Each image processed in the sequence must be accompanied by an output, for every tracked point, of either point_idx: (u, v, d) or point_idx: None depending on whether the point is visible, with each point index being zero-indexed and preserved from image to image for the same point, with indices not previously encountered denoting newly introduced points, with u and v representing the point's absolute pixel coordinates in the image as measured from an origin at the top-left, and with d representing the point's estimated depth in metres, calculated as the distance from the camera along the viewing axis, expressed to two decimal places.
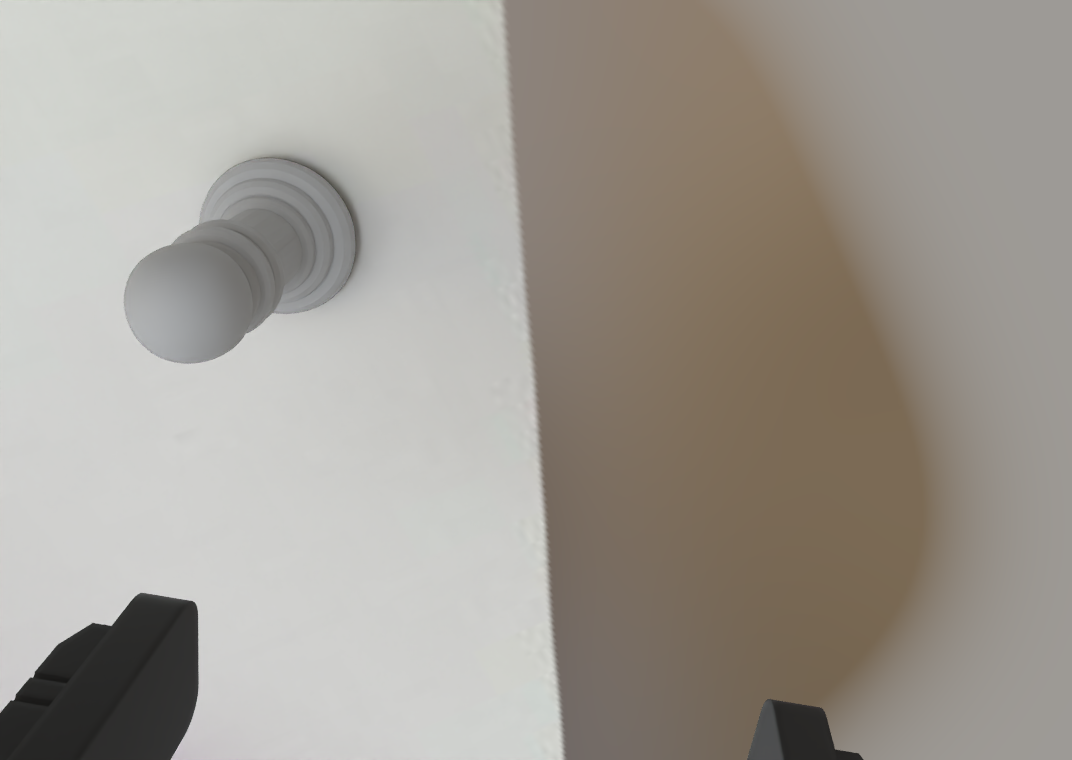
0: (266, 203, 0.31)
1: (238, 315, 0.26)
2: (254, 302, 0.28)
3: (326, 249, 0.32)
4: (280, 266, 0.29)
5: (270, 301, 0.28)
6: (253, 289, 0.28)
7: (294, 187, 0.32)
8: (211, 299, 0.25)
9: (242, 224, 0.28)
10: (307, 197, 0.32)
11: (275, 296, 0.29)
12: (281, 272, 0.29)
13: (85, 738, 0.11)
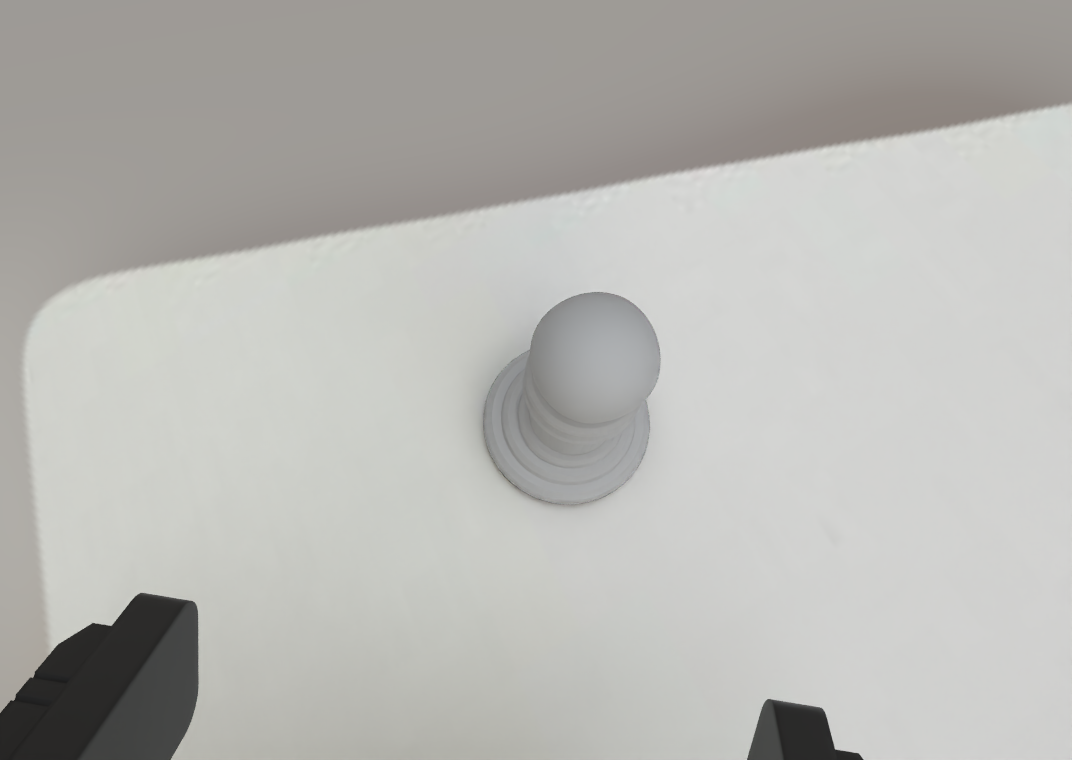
0: (522, 410, 0.30)
1: None
2: None
3: None
4: None
5: None
6: None
7: (506, 396, 0.31)
8: (572, 302, 0.24)
9: (525, 372, 0.27)
10: (513, 380, 0.31)
11: None
12: None
13: (85, 738, 0.11)
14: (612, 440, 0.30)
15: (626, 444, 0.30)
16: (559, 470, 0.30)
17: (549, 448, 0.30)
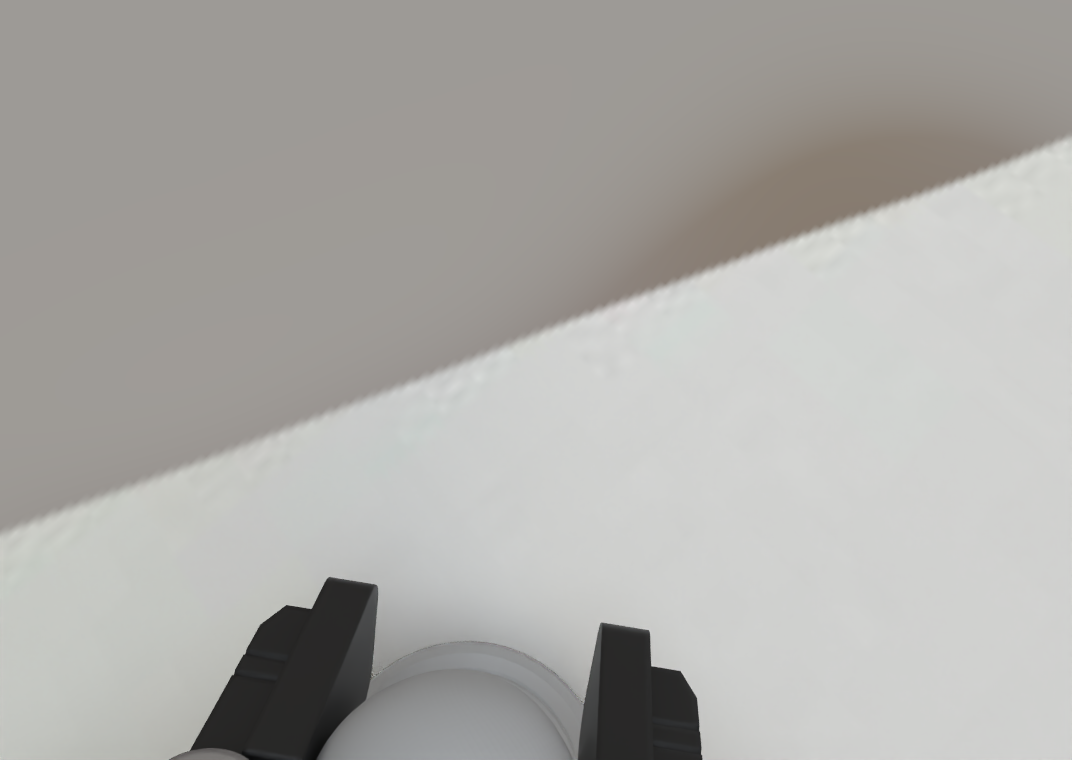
0: None
1: (415, 679, 0.12)
2: None
3: None
4: None
5: None
6: None
7: None
8: (367, 730, 0.11)
9: None
10: None
11: None
12: None
13: (317, 708, 0.12)
14: None
15: None
16: None
17: None
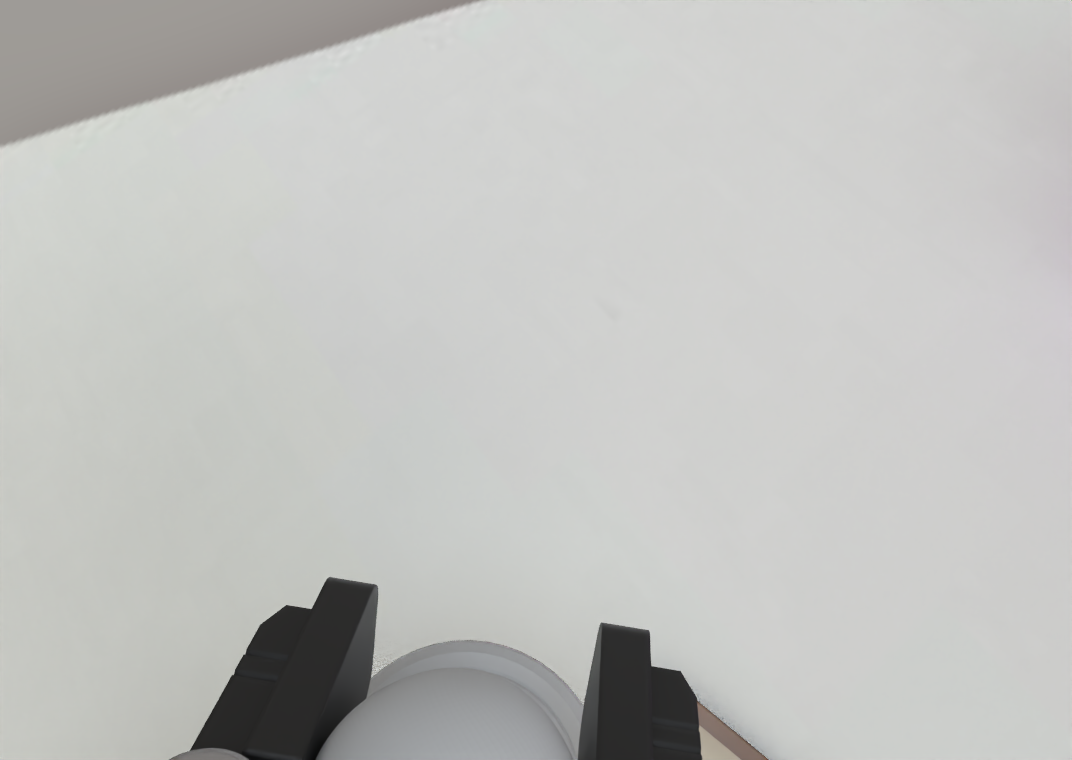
0: None
1: (415, 677, 0.12)
2: None
3: None
4: None
5: None
6: None
7: None
8: (367, 728, 0.11)
9: None
10: None
11: None
12: None
13: (317, 708, 0.12)
14: None
15: None
16: None
17: None
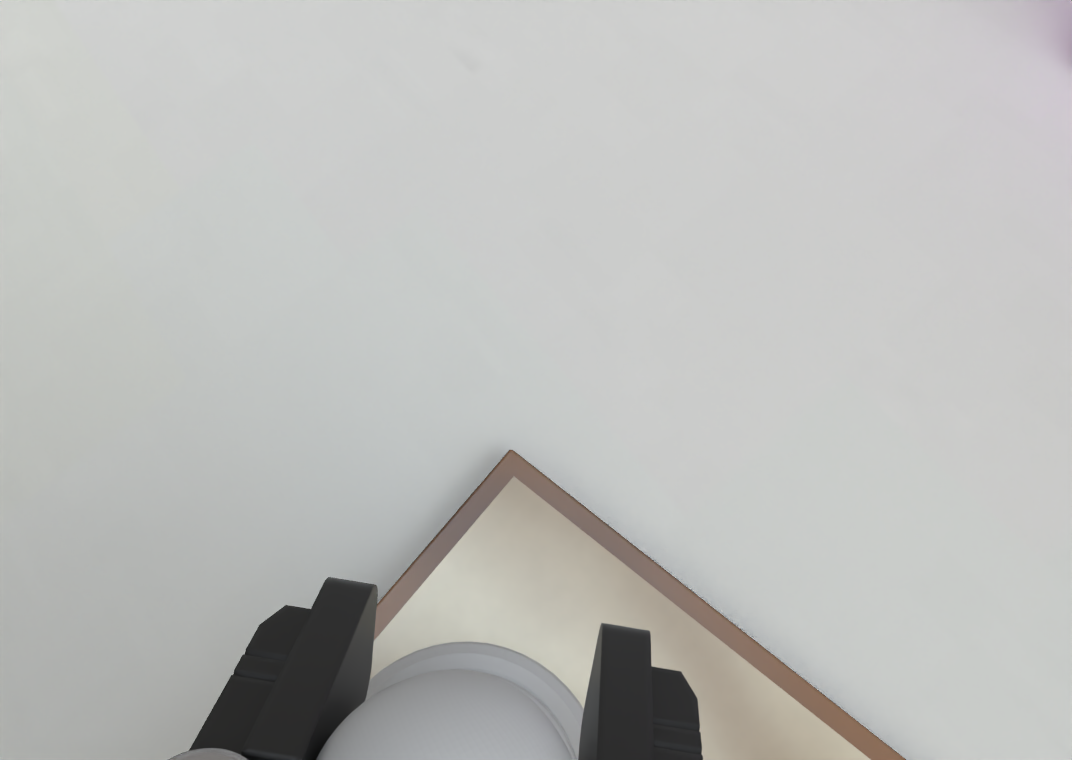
0: None
1: (414, 678, 0.12)
2: None
3: None
4: None
5: None
6: None
7: None
8: (367, 730, 0.11)
9: None
10: None
11: None
12: None
13: (316, 708, 0.12)
14: None
15: None
16: None
17: None
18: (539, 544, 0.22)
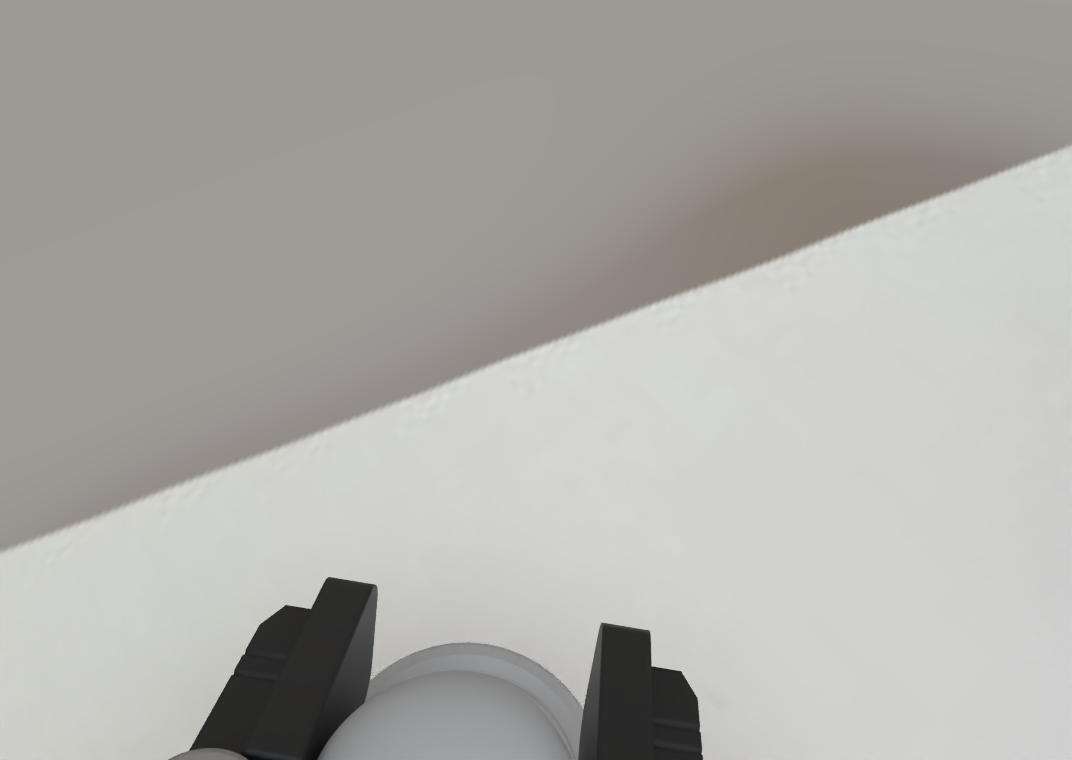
0: None
1: (414, 680, 0.12)
2: None
3: None
4: None
5: None
6: None
7: None
8: (367, 731, 0.11)
9: None
10: None
11: None
12: None
13: (316, 708, 0.12)
14: None
15: None
16: None
17: None
18: None
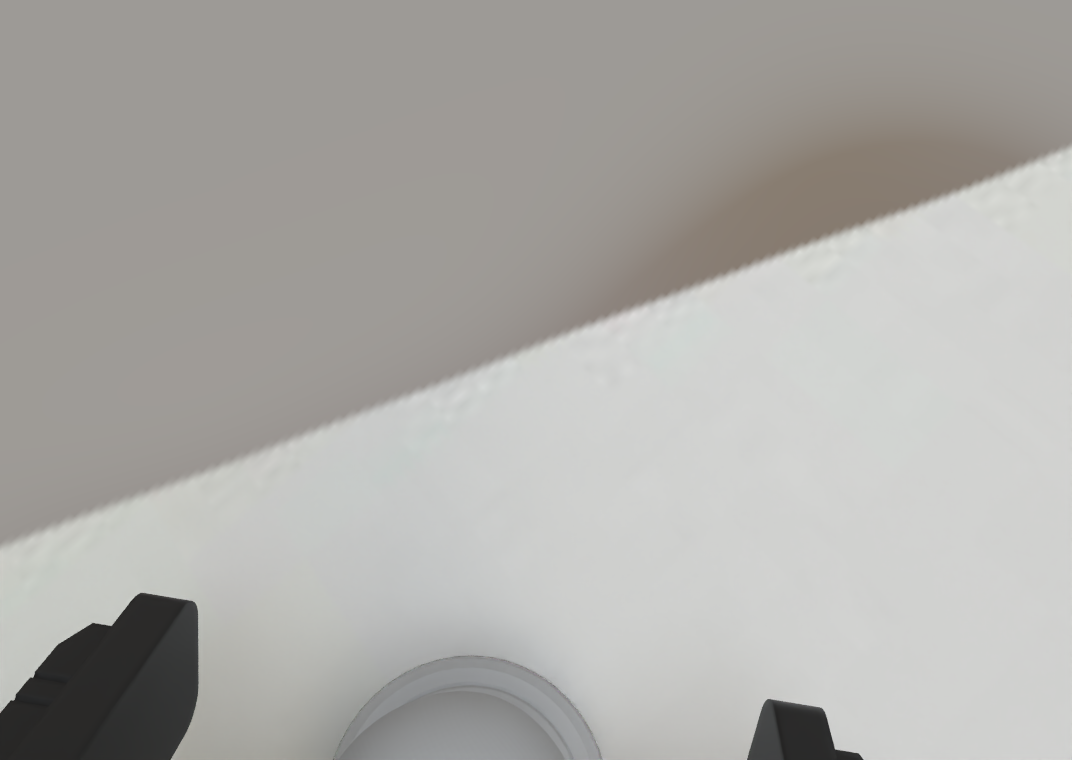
0: None
1: (422, 701, 0.12)
2: None
3: None
4: None
5: None
6: None
7: None
8: (377, 752, 0.11)
9: None
10: None
11: None
12: None
13: (85, 738, 0.11)
14: None
15: None
16: None
17: None
18: None
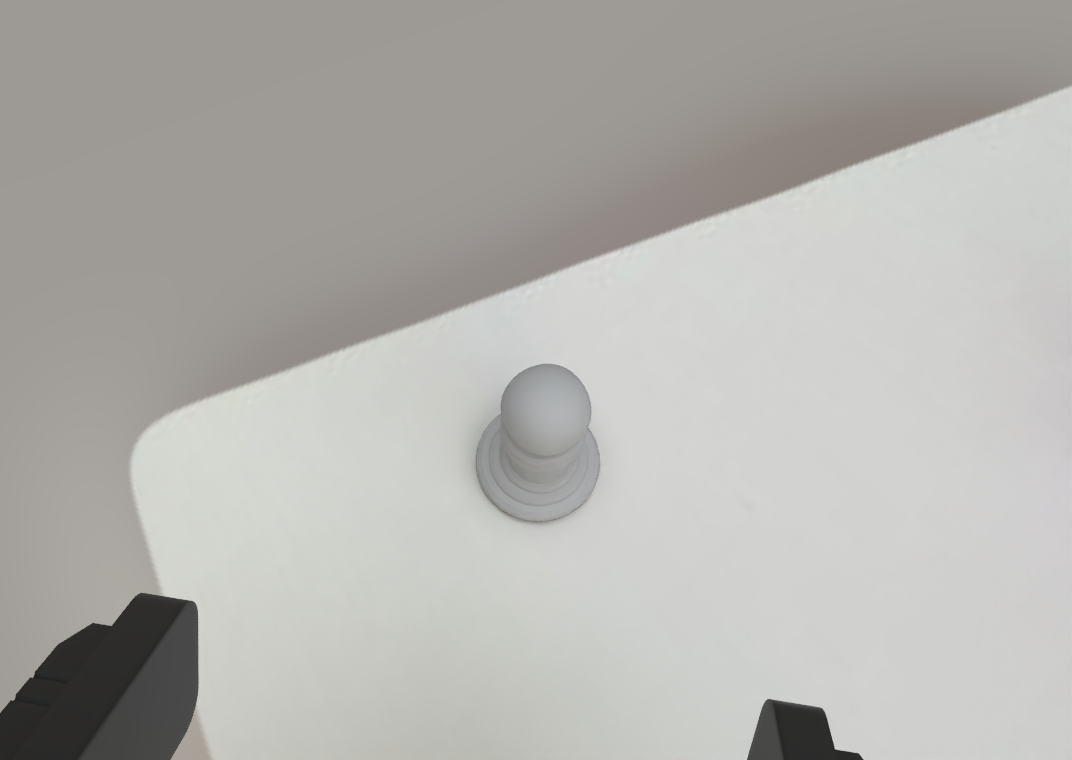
0: (503, 457, 0.41)
1: (536, 365, 0.36)
2: None
3: None
4: None
5: None
6: None
7: (491, 449, 0.42)
8: (523, 374, 0.35)
9: None
10: (493, 437, 0.42)
11: None
12: None
13: (85, 738, 0.11)
14: (572, 467, 0.41)
15: (583, 469, 0.41)
16: (538, 496, 0.41)
17: (528, 481, 0.40)
18: None
